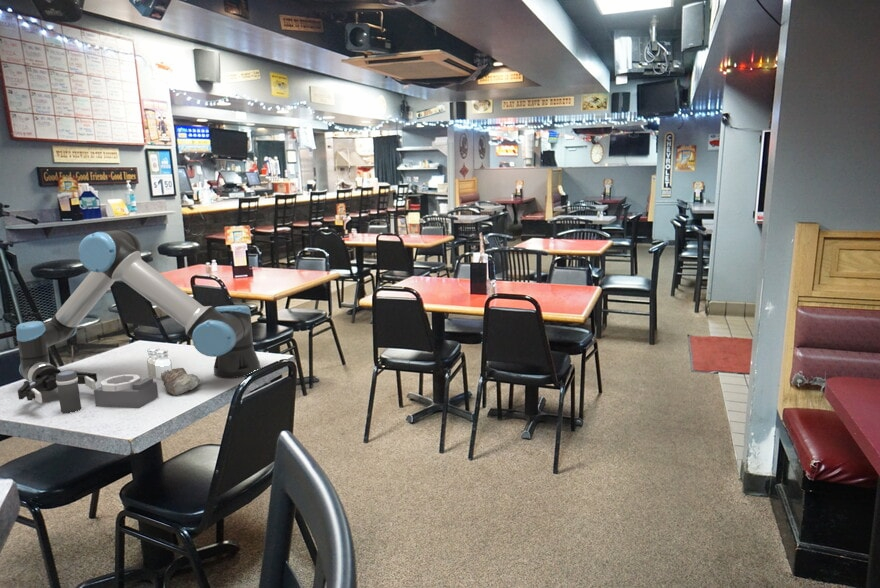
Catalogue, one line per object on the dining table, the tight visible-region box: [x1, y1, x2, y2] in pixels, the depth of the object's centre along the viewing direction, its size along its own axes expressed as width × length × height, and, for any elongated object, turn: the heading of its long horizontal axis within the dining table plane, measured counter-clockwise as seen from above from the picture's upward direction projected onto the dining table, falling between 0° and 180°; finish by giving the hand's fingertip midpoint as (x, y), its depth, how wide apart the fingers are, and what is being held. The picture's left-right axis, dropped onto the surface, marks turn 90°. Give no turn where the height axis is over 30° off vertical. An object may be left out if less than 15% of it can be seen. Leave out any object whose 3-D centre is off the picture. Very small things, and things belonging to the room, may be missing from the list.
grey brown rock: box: [160, 367, 201, 396], centre depth 184 cm, size 14×9×10 cm
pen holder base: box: [93, 373, 159, 409], centre depth 174 cm, size 14×10×7 cm
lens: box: [56, 370, 82, 414], centre depth 167 cm, size 5×5×11 cm
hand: (67, 391), depth 167 cm, fingers open, 13 cm apart
